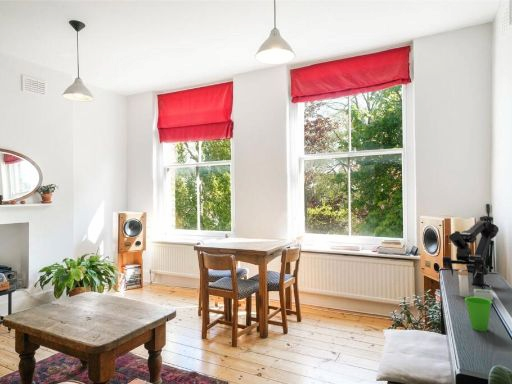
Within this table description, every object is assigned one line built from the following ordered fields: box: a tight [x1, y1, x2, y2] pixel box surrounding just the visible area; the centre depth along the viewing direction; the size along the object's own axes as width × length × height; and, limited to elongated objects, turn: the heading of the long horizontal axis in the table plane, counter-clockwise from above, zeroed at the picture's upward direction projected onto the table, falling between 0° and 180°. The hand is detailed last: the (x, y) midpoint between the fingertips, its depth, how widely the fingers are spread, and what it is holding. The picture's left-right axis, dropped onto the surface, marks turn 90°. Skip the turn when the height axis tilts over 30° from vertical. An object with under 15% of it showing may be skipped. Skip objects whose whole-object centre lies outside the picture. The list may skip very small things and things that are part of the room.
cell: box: [457, 268, 470, 298], centre depth 169 cm, size 4×4×14 cm
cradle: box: [473, 288, 494, 302], centre depth 165 cm, size 8×8×3 cm
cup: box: [464, 296, 493, 332], centre depth 129 cm, size 9×9×11 cm
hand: (463, 276), depth 171 cm, fingers open, 9 cm apart
